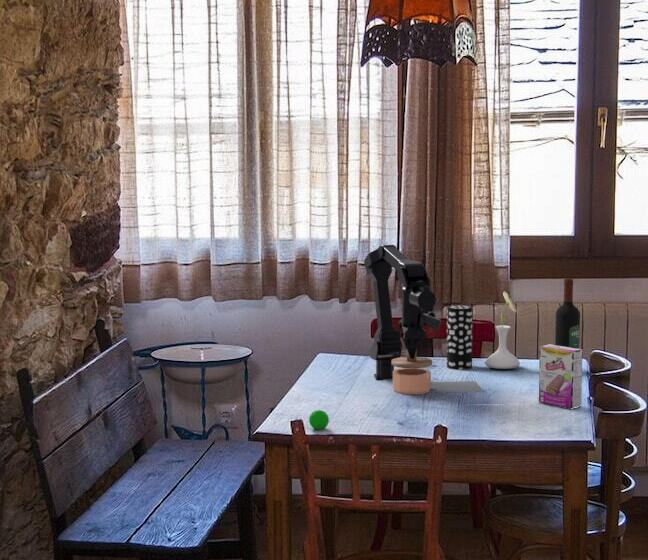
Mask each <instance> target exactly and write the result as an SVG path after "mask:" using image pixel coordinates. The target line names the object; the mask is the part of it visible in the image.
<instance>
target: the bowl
mask: <svg viewBox="0 0 648 560" xmlns="http://www.w3.org/2000/svg"><path fill="white" fill-rule="evenodd" d="M431 382H432V373H431V371H430V370H429V369H425V368H396V369H394V371H393V379H392V389H393V391H394V392H395V393H398V394H403V395H421V394H423V395H424V394H426V393H428V392H430V390H432V387H431V386H432V384H431Z"/></svg>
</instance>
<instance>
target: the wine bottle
mask: <svg viewBox="0 0 648 560" xmlns="http://www.w3.org/2000/svg"><path fill="white" fill-rule="evenodd" d="M573 289H574V279H573V278H564V280H563V303H562V305H560V306H559V307H558V308H557V310H556V311H555V331H554V333H555V336H554V338H555V339H554V345H557V346H563V347H569V348H576V349H580V340H581V339H580V336H581V335H580V334H581V333H580V330H581V312H580V310H579V309H578V308H577V306H575V305H574V301H573V300H574V299H573V297H574V295H573V294H574V290H573Z"/></svg>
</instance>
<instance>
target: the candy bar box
mask: <svg viewBox="0 0 648 560" xmlns="http://www.w3.org/2000/svg"><path fill="white" fill-rule="evenodd" d="M538 369H539V373H538V375H539V376H538V377H539V378H538V381H539V382H538V388H539V389H538V403H540V404H545V405H548V404H549V405H548V406H553V405H555V406H554V407H557V406H561V407H560V408H562V407H566V408H565V409H567V408H574V407H577V406H580V405H581V406H582V392H583V391H582V387H583V386H582V383H583V382H582V381H583V380H582V379H583V349H582V348H581V349H580V348H579V349H576V348H569V347H563V346H557V345H555V344H551V343H549V344H543V345H541V346H539V368H538Z"/></svg>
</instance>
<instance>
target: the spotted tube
mask: <svg viewBox="0 0 648 560" xmlns="http://www.w3.org/2000/svg"><path fill="white" fill-rule="evenodd" d="M473 307H474V306H471V305H461V304H460V305H458V304H457V305H454V304H453V305H448V306H446V368H447V369H451V370H457V371H459V370H460V371H461V370H464V369H465V370H470V369H472V368H473V321H474V319H473Z"/></svg>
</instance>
